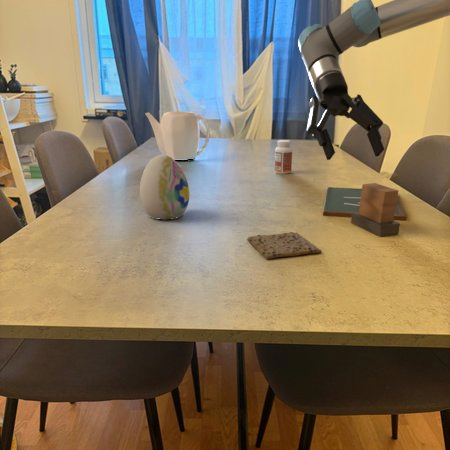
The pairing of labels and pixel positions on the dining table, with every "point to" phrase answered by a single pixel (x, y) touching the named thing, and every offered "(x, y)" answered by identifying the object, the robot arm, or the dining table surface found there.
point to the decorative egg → (164, 188)
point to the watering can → (179, 134)
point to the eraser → (377, 210)
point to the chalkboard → (350, 203)
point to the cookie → (282, 245)
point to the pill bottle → (283, 157)
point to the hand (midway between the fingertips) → (356, 154)
